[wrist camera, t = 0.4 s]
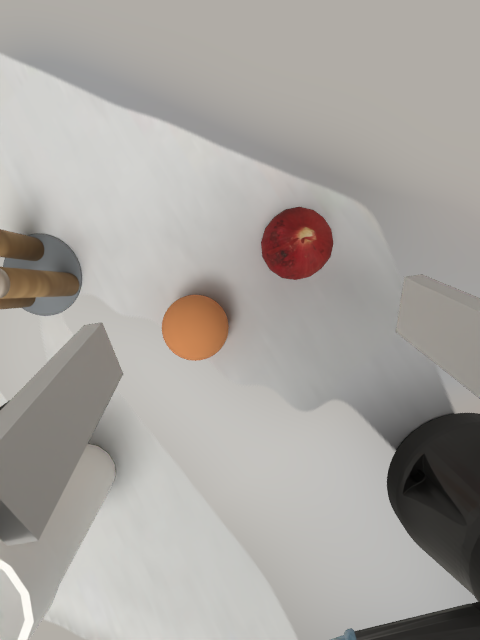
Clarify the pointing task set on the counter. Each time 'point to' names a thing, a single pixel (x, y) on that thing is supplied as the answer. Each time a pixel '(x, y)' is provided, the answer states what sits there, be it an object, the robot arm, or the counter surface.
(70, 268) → the pin spot
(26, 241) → the pin
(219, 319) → the ball
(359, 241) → the counter surface
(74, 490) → the foam cup
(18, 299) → the pin
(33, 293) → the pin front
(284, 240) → the onion
